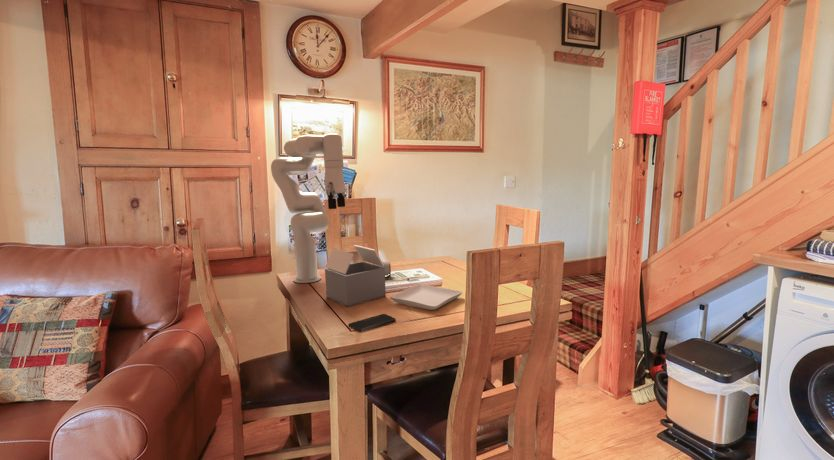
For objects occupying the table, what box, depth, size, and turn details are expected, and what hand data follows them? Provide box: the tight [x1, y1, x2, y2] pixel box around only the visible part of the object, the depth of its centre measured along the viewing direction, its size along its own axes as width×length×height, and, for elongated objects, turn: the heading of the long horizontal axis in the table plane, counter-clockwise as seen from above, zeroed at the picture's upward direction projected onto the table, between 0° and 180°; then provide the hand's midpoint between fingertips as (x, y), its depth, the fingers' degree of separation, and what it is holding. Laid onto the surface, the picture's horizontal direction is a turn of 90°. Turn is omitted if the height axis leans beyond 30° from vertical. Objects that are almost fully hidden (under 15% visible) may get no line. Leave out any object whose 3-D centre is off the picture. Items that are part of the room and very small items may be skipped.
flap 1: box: [324, 248, 354, 274], centre depth 172 cm, size 15×8×1 cm
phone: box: [348, 313, 397, 333], centre depth 149 cm, size 8×1×15 cm
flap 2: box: [353, 244, 384, 266], centre depth 181 cm, size 15×8×1 cm
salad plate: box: [389, 284, 463, 311], centre depth 171 cm, size 21×21×3 cm
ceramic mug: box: [372, 261, 392, 275], centre depth 210 cm, size 11×8×8 cm
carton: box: [324, 260, 387, 308], centre depth 178 cm, size 16×18×12 cm
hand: (337, 207), depth 179 cm, fingers open, 9 cm apart
